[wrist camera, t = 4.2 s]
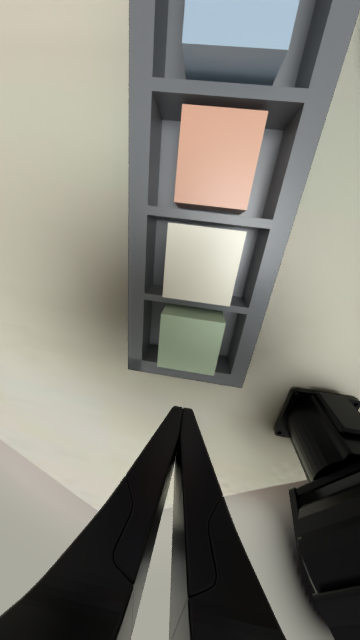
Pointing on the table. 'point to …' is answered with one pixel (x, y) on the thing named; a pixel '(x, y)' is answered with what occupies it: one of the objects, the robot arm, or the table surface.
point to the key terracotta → (217, 157)
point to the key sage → (190, 338)
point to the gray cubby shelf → (269, 180)
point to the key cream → (202, 263)
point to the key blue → (237, 39)
